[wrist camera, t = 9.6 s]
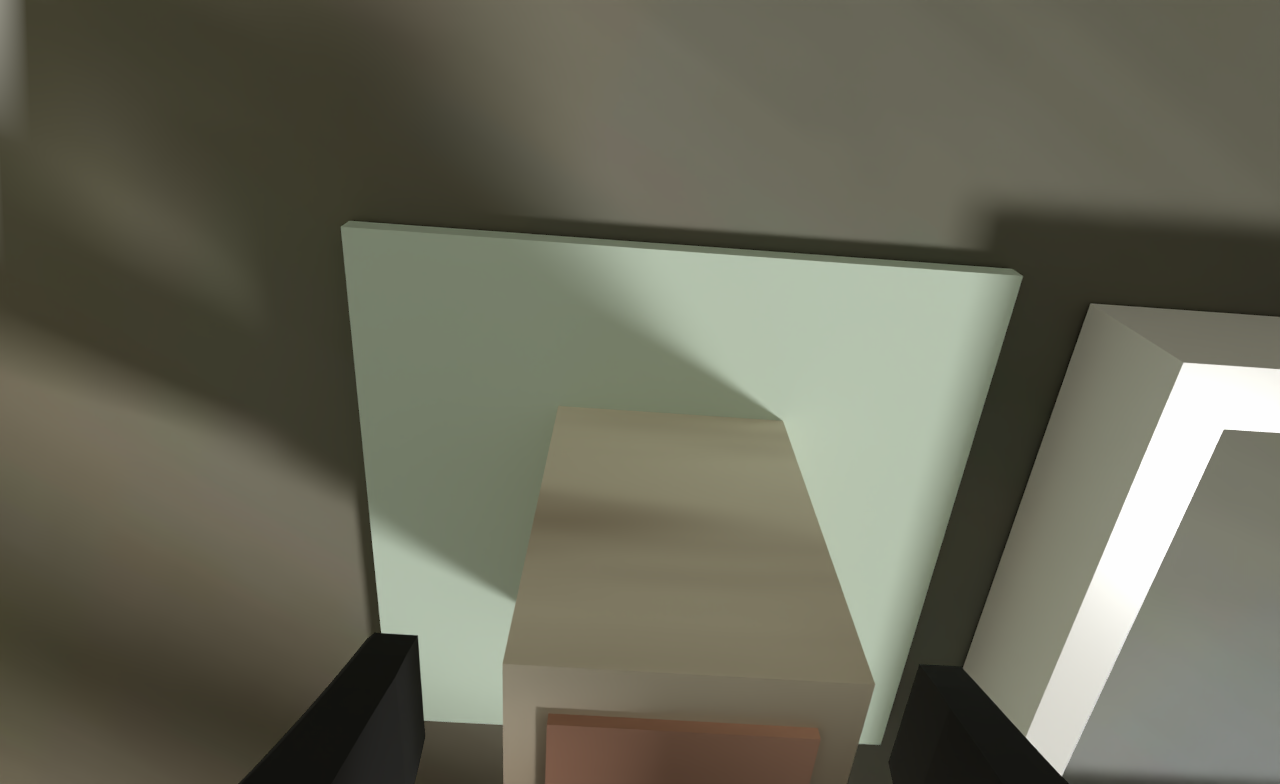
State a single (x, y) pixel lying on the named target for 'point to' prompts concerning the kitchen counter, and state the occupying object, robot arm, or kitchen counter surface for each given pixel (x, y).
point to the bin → (1112, 502)
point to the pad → (651, 382)
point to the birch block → (679, 613)
